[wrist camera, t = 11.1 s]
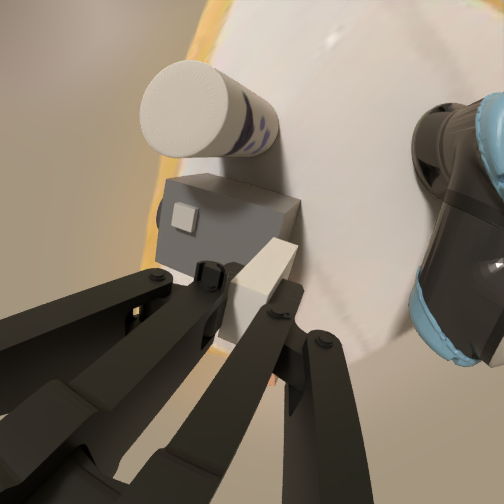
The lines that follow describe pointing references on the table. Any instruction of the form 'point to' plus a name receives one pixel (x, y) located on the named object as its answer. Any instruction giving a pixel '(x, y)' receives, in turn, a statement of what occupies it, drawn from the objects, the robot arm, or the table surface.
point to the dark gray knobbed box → (218, 221)
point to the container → (205, 114)
